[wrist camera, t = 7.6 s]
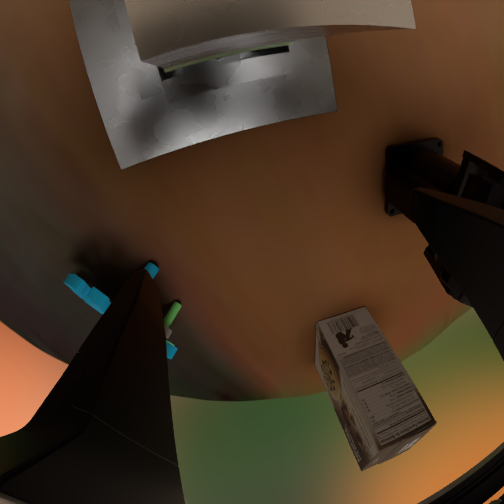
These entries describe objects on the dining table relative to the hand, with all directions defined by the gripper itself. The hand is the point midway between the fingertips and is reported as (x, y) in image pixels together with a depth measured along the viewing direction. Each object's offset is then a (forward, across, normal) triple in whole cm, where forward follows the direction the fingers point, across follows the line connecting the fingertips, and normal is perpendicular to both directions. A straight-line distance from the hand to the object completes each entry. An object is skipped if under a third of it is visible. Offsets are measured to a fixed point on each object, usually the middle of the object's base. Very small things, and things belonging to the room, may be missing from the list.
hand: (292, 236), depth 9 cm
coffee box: (+12, -7, +25) cm, 29 cm away
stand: (+12, 0, -8) cm, 14 cm away
